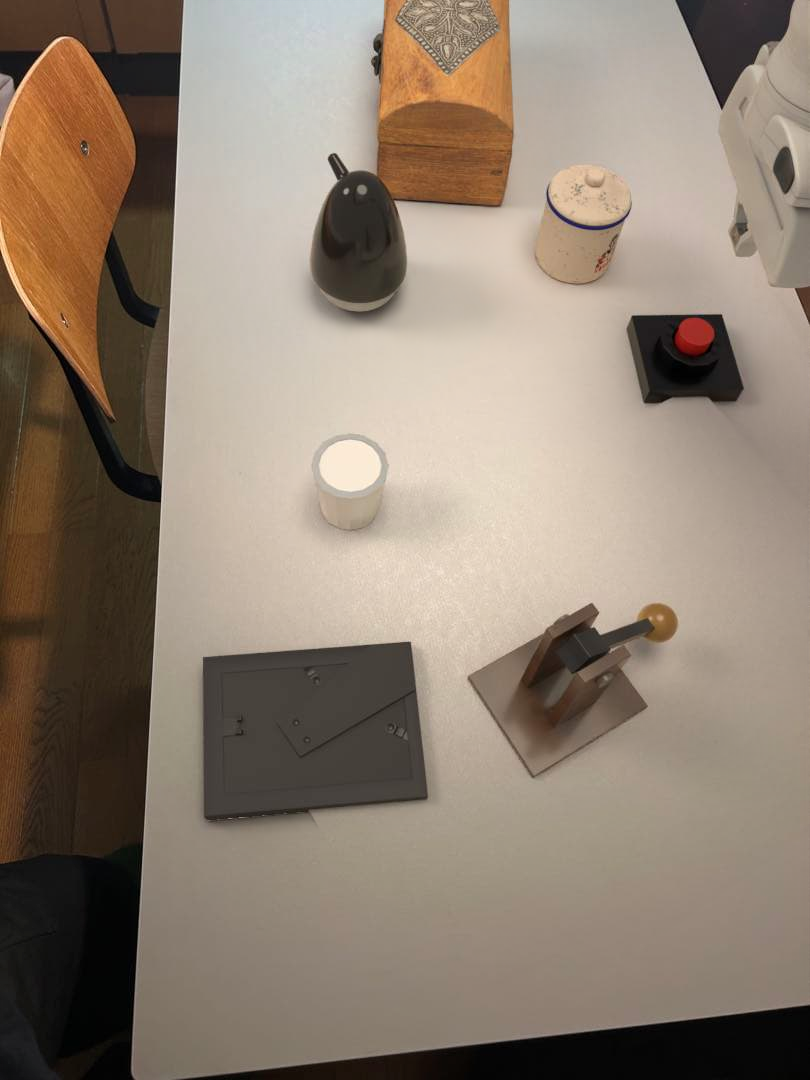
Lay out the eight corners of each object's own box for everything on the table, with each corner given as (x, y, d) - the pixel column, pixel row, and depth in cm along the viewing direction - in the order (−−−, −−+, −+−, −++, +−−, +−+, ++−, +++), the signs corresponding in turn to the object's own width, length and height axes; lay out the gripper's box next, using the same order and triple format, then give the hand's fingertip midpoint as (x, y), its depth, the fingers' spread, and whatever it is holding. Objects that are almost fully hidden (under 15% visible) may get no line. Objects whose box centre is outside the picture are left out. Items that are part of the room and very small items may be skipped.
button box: (715, 327, 102) (728, 302, 99) (736, 401, 98) (751, 377, 94) (626, 328, 101) (636, 303, 98) (643, 403, 97) (655, 379, 93)
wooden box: (375, 37, 123) (379, -74, 110) (500, 47, 123) (517, -62, 111) (362, 198, 108) (364, 92, 96) (503, 209, 109) (523, 104, 97)
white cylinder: (298, 504, 89) (295, 464, 83) (349, 461, 91) (349, 419, 85) (350, 549, 87) (350, 512, 81) (400, 504, 89) (404, 464, 83)
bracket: (576, 619, 85) (612, 555, 74) (643, 711, 81) (691, 658, 70) (465, 681, 81) (485, 624, 70) (530, 781, 78) (562, 737, 66)
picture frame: (409, 649, 82) (205, 664, 81) (411, 639, 80) (202, 655, 79) (426, 801, 76) (206, 822, 75) (428, 795, 74) (202, 816, 73)
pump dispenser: (370, 242, 105) (374, 126, 92) (422, 302, 102) (435, 191, 88) (292, 277, 102) (285, 162, 89) (343, 340, 98) (343, 231, 85)
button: (704, 328, 97) (710, 317, 96) (712, 355, 96) (718, 344, 94) (670, 329, 97) (676, 317, 96) (678, 356, 95) (683, 345, 94)
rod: (642, 614, 82) (668, 591, 80) (666, 645, 81) (693, 623, 79) (546, 648, 72) (572, 623, 70) (572, 684, 71) (599, 660, 69)
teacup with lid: (607, 293, 104) (636, 212, 93) (526, 278, 104) (547, 195, 94) (617, 218, 109) (645, 134, 99) (541, 204, 110) (561, 118, 100)
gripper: (736, 27, 77) (681, 164, 89) (803, 206, 67) (732, 332, 80) (809, 28, 77) (745, 164, 90) (886, 206, 68) (802, 331, 80)
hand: (739, 245), depth 85 cm, fingers closed
